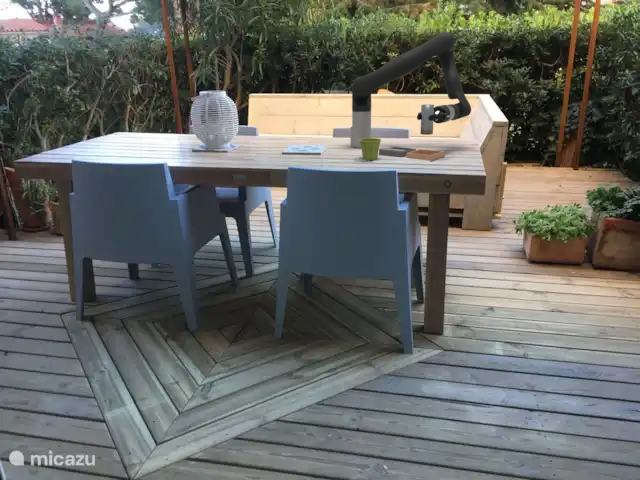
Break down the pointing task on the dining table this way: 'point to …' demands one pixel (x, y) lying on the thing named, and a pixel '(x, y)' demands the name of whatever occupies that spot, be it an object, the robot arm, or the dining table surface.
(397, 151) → the bin
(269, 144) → the dining table surface
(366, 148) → the plant pot
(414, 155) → the bin
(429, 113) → the grey upright cylinder
